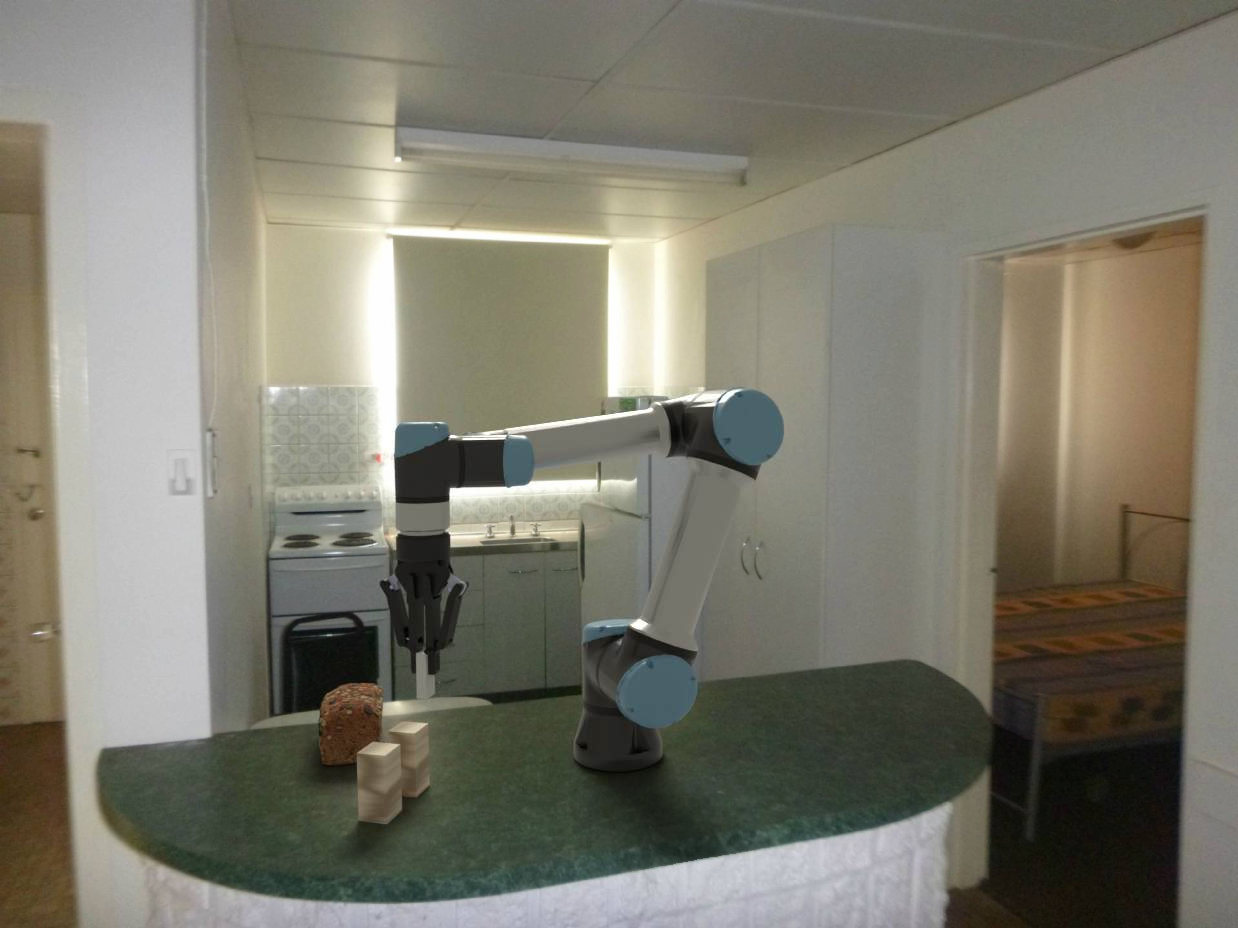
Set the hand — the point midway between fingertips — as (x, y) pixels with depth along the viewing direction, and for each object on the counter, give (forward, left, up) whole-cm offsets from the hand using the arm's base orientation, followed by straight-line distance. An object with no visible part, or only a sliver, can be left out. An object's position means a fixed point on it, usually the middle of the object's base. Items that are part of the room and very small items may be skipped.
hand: (425, 695), depth 128 cm
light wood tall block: (+8, -9, -18) cm, 22 cm away
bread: (+27, -24, -19) cm, 41 cm away
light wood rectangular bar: (+8, 0, -18) cm, 20 cm away
